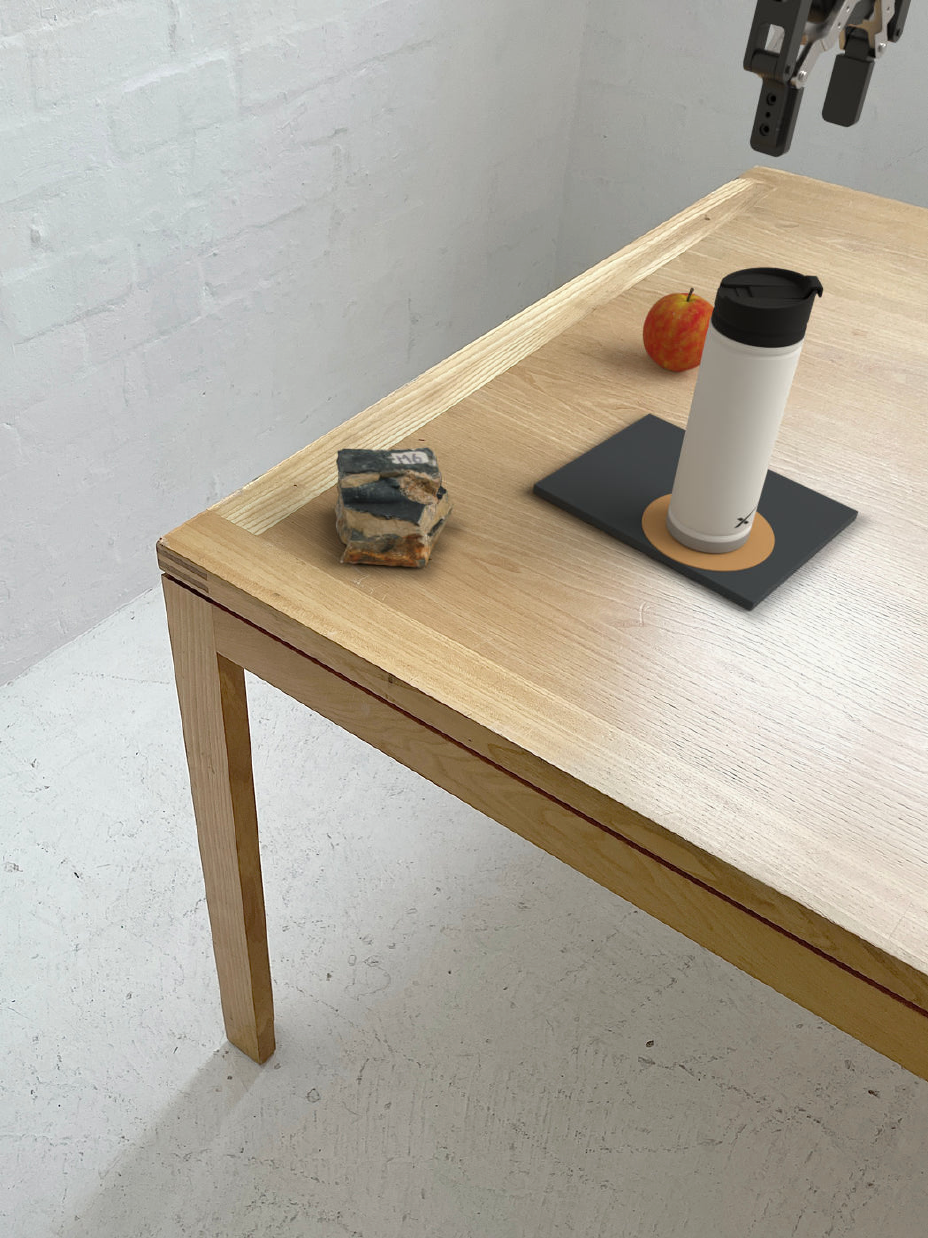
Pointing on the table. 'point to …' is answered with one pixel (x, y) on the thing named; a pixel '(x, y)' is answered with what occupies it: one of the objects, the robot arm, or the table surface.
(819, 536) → the mat
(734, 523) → the travel mug
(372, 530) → the rock
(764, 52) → the robot arm
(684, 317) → the fruit
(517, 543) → the table surface
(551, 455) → the table surface
